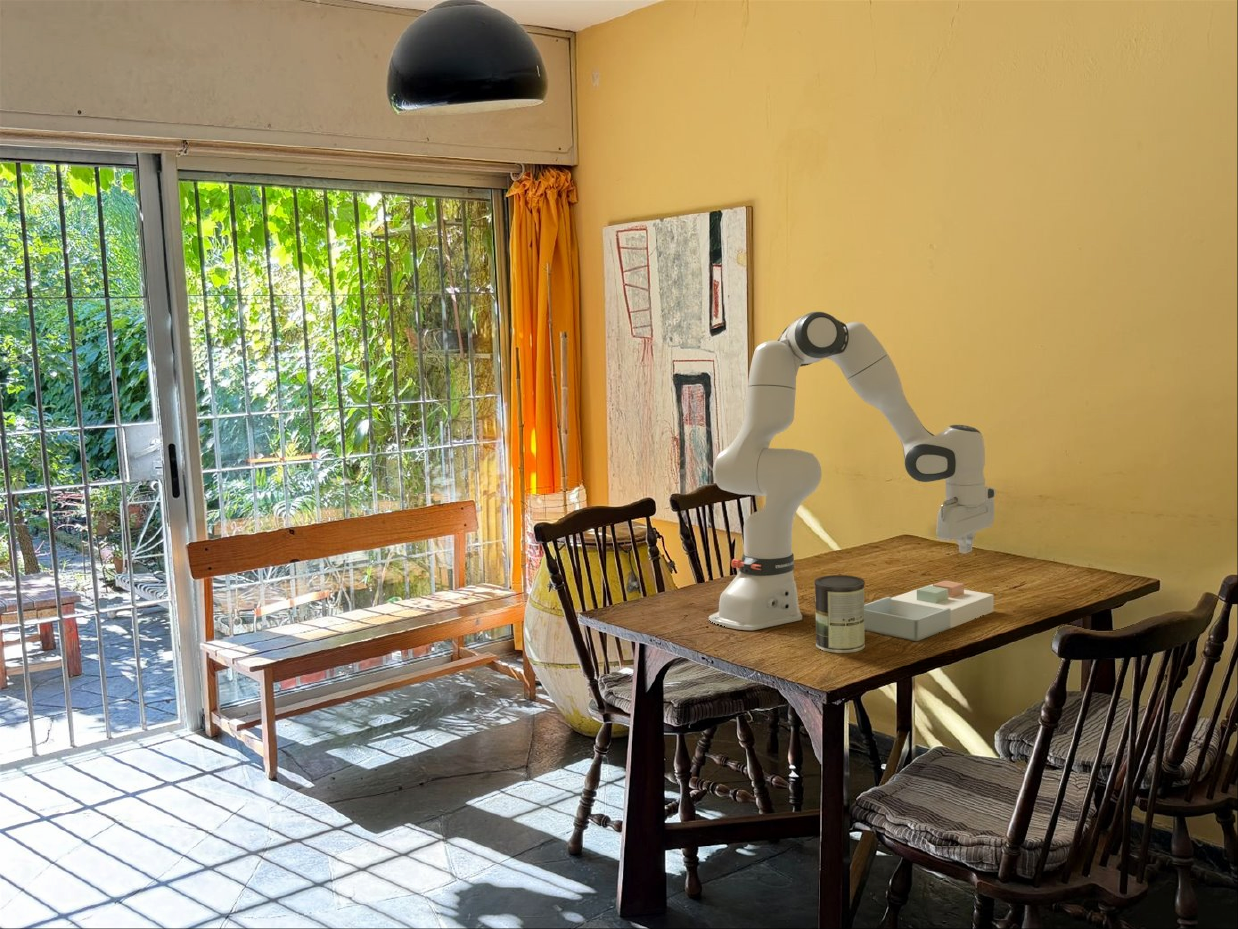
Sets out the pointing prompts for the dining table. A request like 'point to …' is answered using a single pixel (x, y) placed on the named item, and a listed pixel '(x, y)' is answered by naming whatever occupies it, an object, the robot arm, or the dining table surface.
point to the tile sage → (932, 594)
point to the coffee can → (839, 613)
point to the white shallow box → (944, 606)
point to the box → (903, 621)
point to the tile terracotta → (951, 588)
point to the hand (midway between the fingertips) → (965, 552)
